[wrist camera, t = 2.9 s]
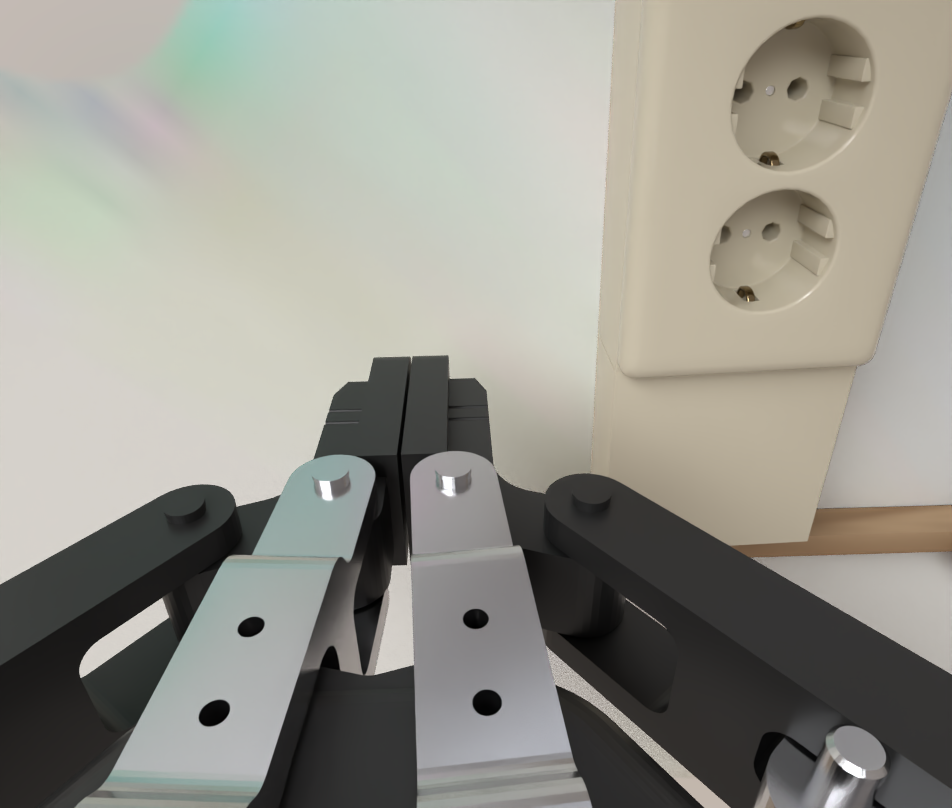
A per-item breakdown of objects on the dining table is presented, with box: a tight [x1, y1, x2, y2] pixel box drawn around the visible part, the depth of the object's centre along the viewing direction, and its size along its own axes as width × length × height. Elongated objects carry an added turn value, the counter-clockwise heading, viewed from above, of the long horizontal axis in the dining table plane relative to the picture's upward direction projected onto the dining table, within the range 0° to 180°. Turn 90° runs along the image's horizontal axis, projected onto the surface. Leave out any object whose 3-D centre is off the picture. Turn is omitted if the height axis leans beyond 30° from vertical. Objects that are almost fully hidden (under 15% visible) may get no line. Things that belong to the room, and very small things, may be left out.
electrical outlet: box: [591, 0, 952, 546], centre depth 19 cm, size 7×4×18 cm
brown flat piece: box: [731, 505, 952, 557], centre depth 19 cm, size 24×24×3 cm
